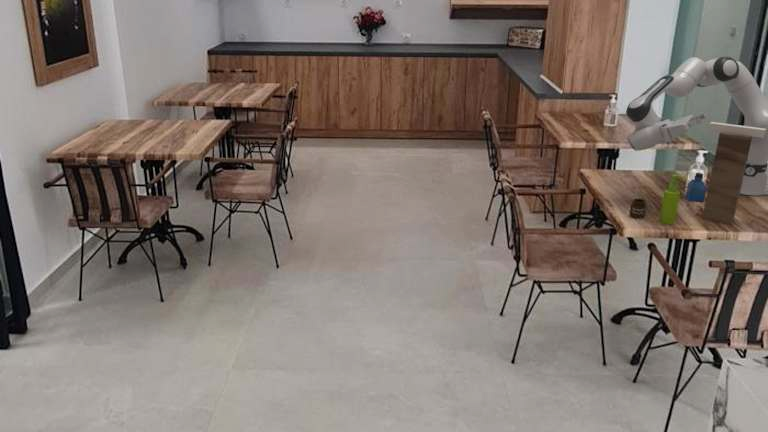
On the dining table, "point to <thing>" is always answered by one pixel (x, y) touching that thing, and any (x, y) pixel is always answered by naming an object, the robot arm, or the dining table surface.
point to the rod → (737, 129)
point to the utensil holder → (638, 207)
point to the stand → (726, 177)
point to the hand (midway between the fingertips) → (702, 118)
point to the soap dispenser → (670, 201)
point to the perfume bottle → (696, 189)
